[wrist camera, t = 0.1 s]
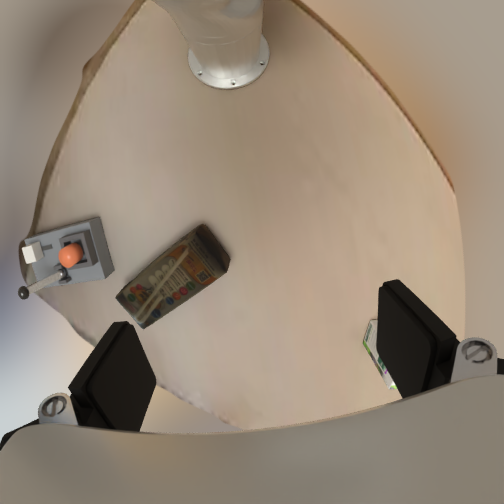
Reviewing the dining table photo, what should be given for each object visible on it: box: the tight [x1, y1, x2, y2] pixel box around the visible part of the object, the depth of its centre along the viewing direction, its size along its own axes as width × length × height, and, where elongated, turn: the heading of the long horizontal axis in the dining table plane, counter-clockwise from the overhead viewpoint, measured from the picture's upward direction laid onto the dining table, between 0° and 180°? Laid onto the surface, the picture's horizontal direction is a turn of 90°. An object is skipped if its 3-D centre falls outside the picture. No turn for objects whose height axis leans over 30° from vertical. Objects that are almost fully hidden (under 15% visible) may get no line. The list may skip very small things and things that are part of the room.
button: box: [58, 243, 83, 268], centre depth 40 cm, size 3×3×3 cm
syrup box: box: [363, 320, 397, 389], centre depth 46 cm, size 6×6×14 cm
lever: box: [18, 267, 67, 299], centre depth 40 cm, size 2×2×10 cm
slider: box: [22, 242, 44, 263], centre depth 42 cm, size 3×3×2 cm
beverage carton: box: [116, 224, 230, 329], centre depth 46 cm, size 8×19×7 cm, turn 126°
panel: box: [25, 217, 114, 288], centre depth 45 cm, size 10×17×6 cm, turn 99°
